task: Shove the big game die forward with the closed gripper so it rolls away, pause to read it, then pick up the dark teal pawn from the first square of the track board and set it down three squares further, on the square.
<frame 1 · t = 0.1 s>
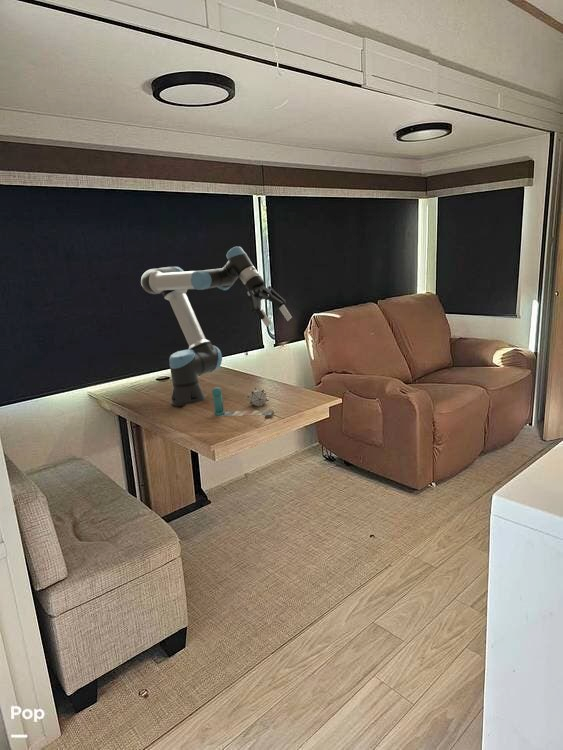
hand: (279, 322, 203), 36 cm above the table, tool tilted 35°, fingers open, 13 cm apart
game die: (258, 407, 213), on the table
pawn: (219, 414, 205), point 1 cm above the table, touching board
board: (243, 416, 204), on the table
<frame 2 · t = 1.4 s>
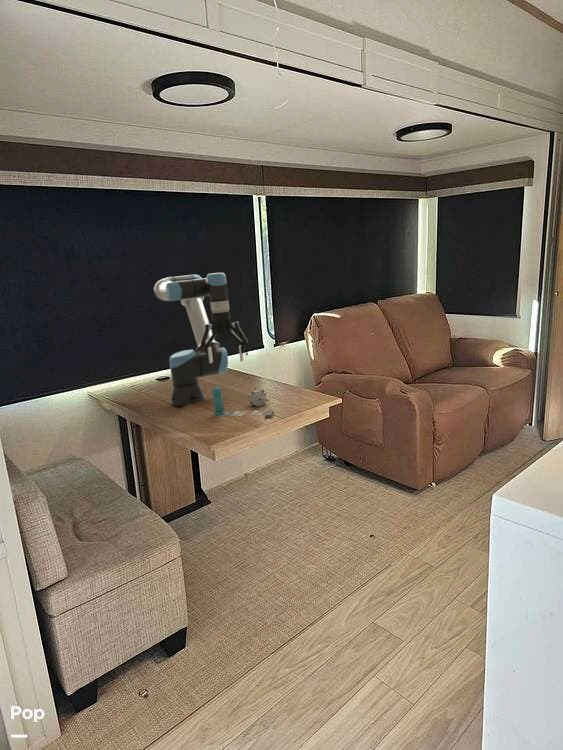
hand: (226, 361, 211), 21 cm above the table, tool pointing down, fingers open, 13 cm apart
nothing on the table moved.
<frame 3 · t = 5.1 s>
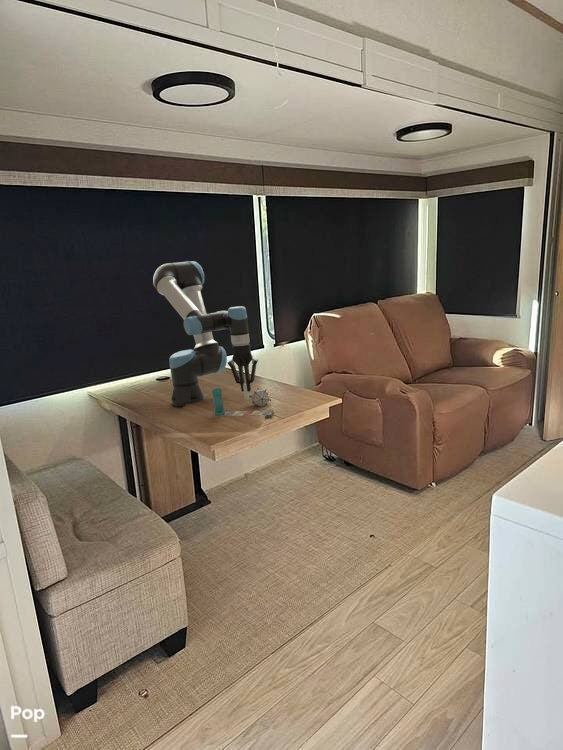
hand: (247, 398, 213), 4 cm above the table, tool pointing down, fingers closed
game die: (261, 407, 213), on the table, touching gripper
everything else where it was.
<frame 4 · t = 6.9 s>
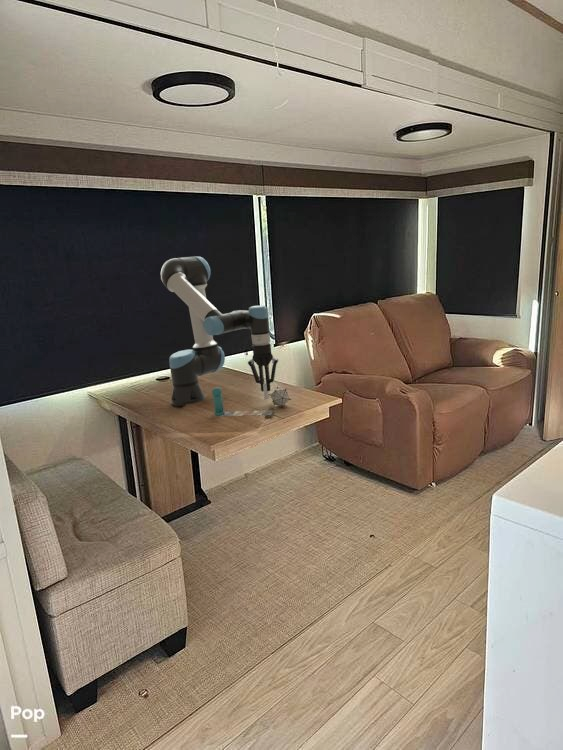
hand: (266, 398, 212), 4 cm above the table, tool pointing down, fingers closed
game die: (280, 406, 212), on the table, touching gripper
everything else where it was.
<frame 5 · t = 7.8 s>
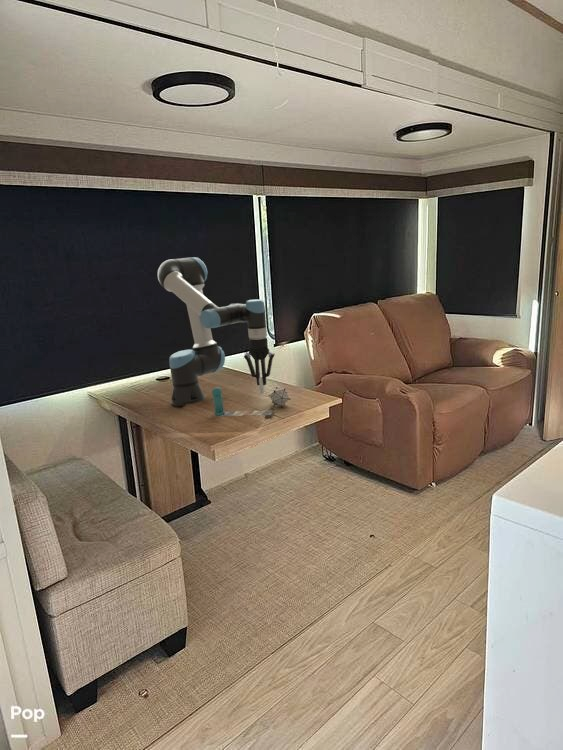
hand: (262, 392, 212), 6 cm above the table, tool pointing down, fingers closed
game die: (280, 406, 212), on the table
everything else where it was.
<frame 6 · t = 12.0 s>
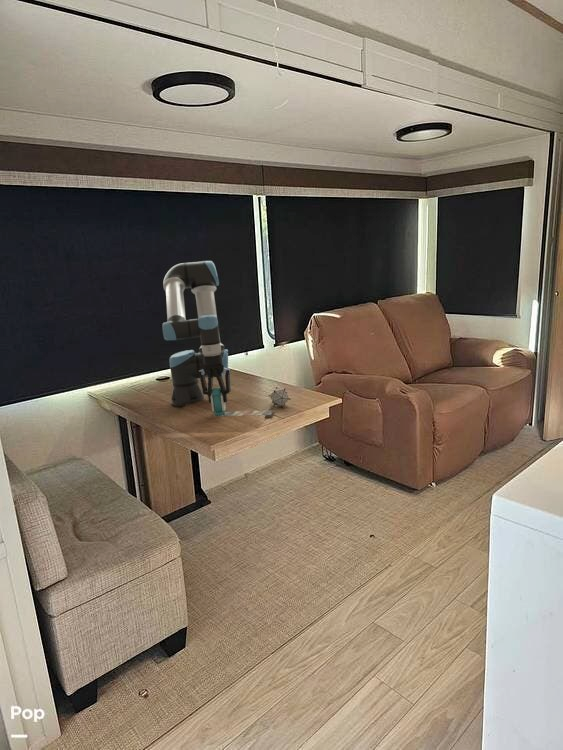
hand: (219, 409, 205), 3 cm above the table, tool pointing down, fingers closed on pawn, 3 cm apart
pawn: (219, 414, 205), point 1 cm above the table, touching board, gripper
everything else where it was.
when the fingers open (4 cm above the table, at t = 16.5 s): pawn stays where it is, resting on board.
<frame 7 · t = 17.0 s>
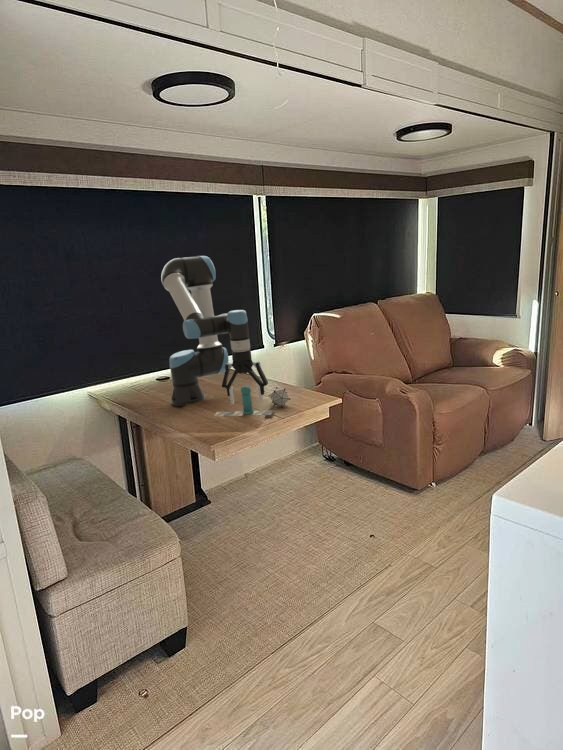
hand: (247, 403, 202), 6 cm above the table, tool pointing down, fingers open, 11 cm apart
pawn: (248, 413, 203), point 1 cm above the table, touching board
everything else where it was.
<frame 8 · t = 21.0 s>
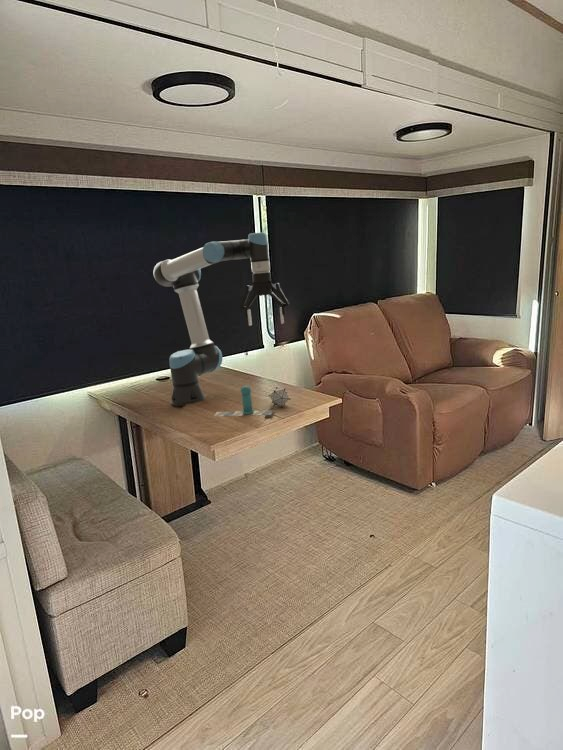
hand: (266, 324, 208), 35 cm above the table, tool pointing down, fingers open, 13 cm apart
nothing on the table moved.
at the end: pawn 0.1 cm from the target spot on the board, point 1.3 cm above the board's base; pawn tilted 0°; game die moved 9.2 cm from its start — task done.
